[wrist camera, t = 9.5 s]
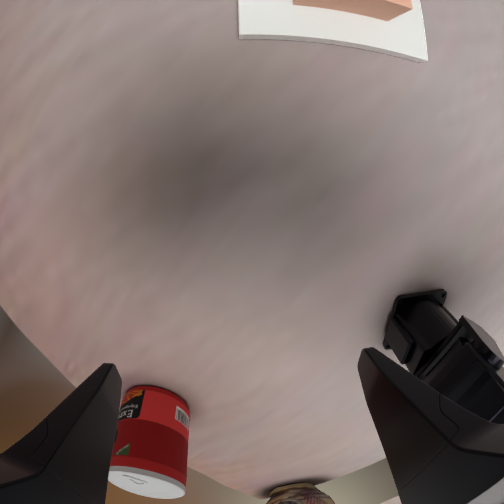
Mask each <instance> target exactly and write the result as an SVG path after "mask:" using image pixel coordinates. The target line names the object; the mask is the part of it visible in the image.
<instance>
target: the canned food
mask: <svg viewBox="0 0 504 504" xmlns="http://www.w3.org/2000/svg"><path fill="white" fill-rule="evenodd" d="M189 421H190V414H189V410H188V407H187V405H186V403H185V402H184V401H183V400H182V399H181V398H180V397H179V396H177V395H175V394H174V393H172V392H170V391H168V390H165V389H162V388H158V387H153V386H138V387H134V388H132V389H130V390H129V391H128V392H127V393H126V395H125V396H124V397H123V400H122V404H121V407H120V411H119V418H118V424H117V429H116V434H115V439H114V445H113V451H112V457H111V463H110V469H109V476H108V480H109V481H110V482H111V483H113V484H114V485H116V486H118V487H120V488H122V489H124V490H127V491H129V492H132V493H135V494H139V495H143V496H147V497H153V498H162V499H172V498H179V497H181V496H183V495H184V494H185V489H186V476H187V455H188V437H189Z"/></svg>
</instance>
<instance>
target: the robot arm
mask: <svg viewBox="0 0 504 504" xmlns="http://www.w3.org/2000/svg"><path fill="white" fill-rule="evenodd" d="M446 295H447V292H446V291H445V290H444V289H441V290H436V291H430V292H423V293H417V294H410V295H404V296H399V297H398V298H397V299H396V301H395V304H394V308H393V312H392V315H391V319H390V322H389V325H388V329H387V332H386V335H385V340H384V343H383V347H384V349H386V350H388V349H392V350H393V352H394V353H395V355H396V356H397V358H398V360H399V361H400V363H401V364H405V365H406V366H407V368H408V370H409V371H410V372H408V371H407V370H405V369H404V368H403V367H401V366H400V365H398V364H397V363H395V362H394V361H392V360H391V359H390V358H388V357H387V356H385V355H384V354H382V353H381V352H380V351H378V350H377V349H375V348H373V347H370V348H364V349H363V350H362V351H361V355H360V358H359V362H358V372H359V375H360V379H361V383H362V387H363V391H364V395H365V399H366V402H367V405H368V408H369V411H370V413H371V416H372V419H373V421H374V424H375V427H376V430H377V432H378V435H379V438H380V441H381V443H382V446H383V449H384V452H385V455H386V457H387V460H388V463H389V466H390V469H391V472H392V475H393V478H394V481H395V484H396V487H397V490H398V494H399V497H400V500H401V503H402V504H504V368H503V367H502V365H503V364H504V357H503V355H502V353H501V351H500V349H499V348H498V346H497V344H496V342H495V341H494V340H493V338H492V337H491V336H490V335H489V334H488V333H487V332H486V331H485V330H484V329H483V328H482V327H480V326H479V325H477V324H476V323H474V322H473V321H471V320H469V319H468V318H466V317H465V316H463V315H462V317H461V318H460V319H459V322H458V321H457V320H456V319H455V318H454V316H453V315H452V314H451V313H450V312H449V311H448V310H447V309H446V308H445V307H444V306H443V304H444V301H445V298H446ZM400 301H401V302H400ZM121 387H122V380H121V377H120V375H119V372H118V370H117V368H116V366H115V365H114V364H113V363H103V364H102V365H101V366H100V367H99V368H98V369H97V370H96V371H94V372H93V373H92V374H91V375H90V376H89V377H88V378H87V379H86V380H85V381H84V382H83V383H82V384H80V385H79V386H78V387H77V388H76V389H75V390H74V391H73V392H72V393H71V394H70V395H69V396H68V397H67V398H66V399H64V400H63V401H62V402H61V403H60V404H59V405H58V406H57V407H56V408H55V409H54V410H53V411H52V412H51V413H50V414H49V415H48V416H47V417H46V418H44V419H43V420H42V421H41V422H40V423H39V424H38V425H37V426H36V427H35V428H34V429H32V430H31V431H30V432H29V433H28V434H26V435H25V436H24V437H23V438H22V439H20V440H19V441H18V442H16V443H15V444H14V445H12V446H11V447H10V448H9V449H7V450H6V451H4V452H3V453H1V454H0V504H105V499H106V491H107V482H108V476H109V469H110V463H111V457H112V451H113V445H114V439H115V434H116V429H117V424H118V418H119V407H120V396H121Z"/></svg>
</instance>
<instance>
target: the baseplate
mask: <svg viewBox="0 0 504 504" xmlns="http://www.w3.org/2000/svg"><path fill="white" fill-rule="evenodd" d="M411 2H412V7H413V9H412V10H410V11H408V12H406V13H404V14H401V15H399V16H397V17H395V18H393V19H391V20H389V21H384V20H380V19H376V18H372V17H368V16H363V15H359V14H354V13H349V12H343V11H338V10H331V9H325V8H317V7H309V6H300V5H293V0H238V28H239V40H240V39H268V40H292V41H305V42H316V43H325V44H333V45H340V46H347V47H353V48H359V49H364V50H369V51H374V52H379V53H384V54H388V55H392V56H396V57H400V58H404V59H408V60H412V61H415V62H419V63H420V62H425V61H428V56H427V46H426V37H425V29H424V22H423V15H422V9H421V4H420V0H411Z"/></svg>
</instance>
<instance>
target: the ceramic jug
mask: <svg viewBox="0 0 504 504" xmlns="http://www.w3.org/2000/svg"><path fill="white" fill-rule="evenodd" d="M270 497H271V498H270V500H269V501H268V502H267V503H266V504H335V503H334V501H333V500H332V499H331V497H330V496H328V495H326V494H325V493H323V492H321V491H320V490H318V489H317V488H316V487H315V486H314V485H313V484H311V483H298V484H291V485H286V486H282V487H277V488H275V489H274V490H273V491H272V492H270Z"/></svg>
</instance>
